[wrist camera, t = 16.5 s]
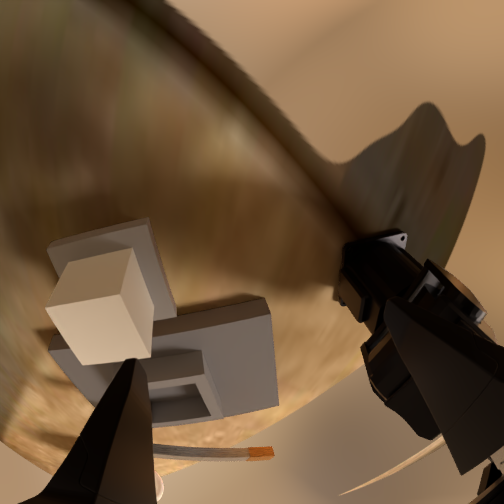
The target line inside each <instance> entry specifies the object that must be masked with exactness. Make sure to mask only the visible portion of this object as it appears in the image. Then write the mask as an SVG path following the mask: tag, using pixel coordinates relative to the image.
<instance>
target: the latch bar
mask: <svg viewBox="0 0 504 504" xmlns="http://www.w3.org/2000/svg"><path fill="white" fill-rule="evenodd" d="M273 457H274V452H273V448H272V446H271V447H250V448H198V447H182V446H170V445H161V444H153V458H163V459H175V460H191V461H257V460H258V461H259V460H270V459H271V458H273Z"/></svg>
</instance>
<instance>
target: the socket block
mask: <svg viewBox="0 0 504 504" xmlns="http://www.w3.org/2000/svg"><path fill="white" fill-rule="evenodd" d="M48 352H49V353H50V355H51V356H52V357H53V359H54V360H55V361H56V363H57V364H58V365H59V366H60V368H61V369H62V370H63V371H64V373H65V374H66V375H67V376H68V378H69V379H70V380H71V381H72V382H73V384H74V385H75V386H76V387H77V388H78V389H79V391H80V392H81V393H82V394H83V395H84V396H85V397H86V398H87V400H88V401H89V402H90V403H91V404H92V405H93V406H94V407H95V408H96V406H97V404H98V403H99V401H100V399H101V398H102V396H103V394H104V393H105V391H106V389H107V388H108V386H109V384H110V383H111V381H112V379H113V378H114V376H115V375H116V373H117V371H118V370H119V368H120V367H121V365H122V363H123V362H124V361H120V362H111V363H102V364H92V365H82V364H81V363H80V361H79V360H78V358H77V357H76V356H75V354H74V353H73V351H72V350H71V348H70V347H69V345H68V344H67V343H66V341H65V340H64V338H63V336H62V335H61V334H60V335H53V337H52V340H51V343H50V346H49V349H48ZM138 360H139V362H140V363H141V365H142V367H143V368H144V370H145V372H146V374H147V380H148V389H149V398H150V406H151V414H152V428H157V427H168V426H177V425H185V424H192V423H199V422H206V421H212V420H218V419H224V417H229V416H234V415H240V414H244V413H249V412H254V411H258V410H262V409H267V408H271V407H275V406H279V399H278V387H277V376H276V364H275V353H274V342H273V331H272V320H271V313H270V310H269V308H268V305H267V302H266V300H265V298H262V299H258V300H253V301H249V302H244V303H240V304H235V305H230V306H225V307H220V308H216V309H211V310H206V311H200V312H195V313H190V314H185V315H180V316H177V317H173V318H168V319H162V320H156V321H153V329H152V346H151V357H150V358H143V359H138Z"/></svg>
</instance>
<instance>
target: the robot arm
mask: <svg viewBox="0 0 504 504" xmlns="http://www.w3.org/2000/svg"><path fill="white" fill-rule="evenodd" d="M401 237H402V238H401ZM406 240H407V235H406V234H405V233H404V232H403V231H400V232H396V233H391V234H387V235H382V236H378V237H373V238H369V239H364V240H359V241H355V242H350V243H347V244H345V245H344V247H343V252H342V267H341V269H340V273H339V286H338V294H339V303H340V305H341V306H347V307H348V308H349V310H350V311H351V313H352V314H353V316H354V317H355V319H356V320H357V321H358V322H359V323H362V322H364V323H365V325H366V326H367V328H368V329H369V331H370V332H371V334H372V335H371V337H370V338H369V339H368V340H367V341H366V342H364V343H363V344H362V346H361V347H360V348H361V352H362V355H363V359H364V363H365V366H366V370H367V374H368V377H369V381H370V384H371V387H372V390H373V392H374V393H375V394H376V395H377V396H378V397H379V398H380V399H381V400H382V401H383V402H384V404H385V405H386V406H387V407H389V408H390V409H392V410H393V411H395V412H396V413H397V414H399V415H400V416H401V417H402V418H403V419H404V420H405V421H406V422H407V423H408V424H409V425H410V426H411V428H412V429H413V430H414V431H415V432H416V434H417V435H418V436H420V437H423V438H425V439H428V440H433V439H434V438H435V437H437V436H438V435H439V434H440V433H442V435H443V438H444V440H445V442H446V444H447V446H448V448H449V450H450V452H451V454H452V457H453V459H454V461H455V463H456V466H457V468H458V470H459V472H460V474H461V475H464V474H465V473H466V472H468V471H470V470H471V469H473V468H474V467H476V466H477V465H479V464H480V463H482V462H483V461H484V460H486V459H487V458H488V459H489V460H490V461H491V463H490V464H489V465H488V466H486V467H485V468H484V470H483V474H482V478H481V482H480V486H479V489H478V493H477V495H478V497H476V498H475V499H474V500H473V501H471V502H470V503H469V504H504V347H503V346H500V345H498V343H497V339H496V336H495V333H494V331H493V329H492V328H491V327H490V326H489V325H488V324H487V323H486V322H485V321H484V320H483V319H484V317H485V316H486V315H487V312H486V310H485V309H484V308H483V306H482V305H481V304H480V302H479V301H478V300H477V298H476V297H475V296H474V294H473V293H472V292H471V291H470V290H469V289H468V288H467V287H466V286H465V285H464V284H463V283H461V282H460V281H459V280H458V279H457V278H456V277H454V275H452V274H451V273H449V272H448V271H446V270H445V269H443V268H442V267H440V266H439V265H437V264H436V263H434V262H433V261H431V260H429V259H427V260H426V262H425V263H424V267H423V266H422V265H421V264H420V263H419V262H417V261H416V260H415V259H414V258H413V257H412V256H411V255H410V254H409V253H407V252H406V251H405V246H406ZM349 248H350V250H349V251H348V249H349ZM18 504H157V497H156V487H155V474H154V459H153V438H152V414H151V406H150V398H149V389H148V380H147V374H146V372H145V370H144V368H143V367H142V365H141V363H140V362H139V360H138V359H137V358H128V359H125V360H124V362H123V363H122V365H121V367H120V368H119V370H118V371H117V373H116V375H115V376H114V378H113V379H112V381H111V383H110V384H109V386H108V388H107V389H106V391H105V393H104V394H103V396H102V398H101V399H100V401H99V403H98V404H97V406H96V408H95V409H94V411H93V413H92V414H91V416H90V418H89V420H88V421H87V423H86V425H85V426H84V428H83V430H82V432H81V433H80V436H79V437H78V439H77V440H76V442H75V444H74V445H73V447H72V449H71V451H70V452H69V454H68V455H67V457H66V458H65V460H64V461H63V463H62V464H61V466H60V467H59V469H58V470H57V472H56V473H55V474H54V476H53V477H52V479H51V480H50V482H49V483H48V485H47V486H46V487H45V489H44V490H43V491H42V492H41V493H39V494H38V495H37V496H35V497H33V498H30V499H28V500H26V501H23V502H21V503H18Z"/></svg>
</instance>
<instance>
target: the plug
mask: <svg viewBox="0 0 504 504" xmlns="http://www.w3.org/2000/svg"><path fill="white" fill-rule="evenodd" d="M46 250H47V253H48V255H49V257H50V259H51V262H52V264H53V266H54V268H55V270H56V272H57V275H58V277H59V281H58V283H57V284H56V286H55V288H54V290H53V292H52V294H51V296H50V298H49V300H48V302H47V304H46V307H45V309H46V311H47V312H48V314H49V316H50V317H51V319H52V321H53V322H54V324H55V326H56V327H57V329H58V330H59V332H60V333H61V335H62V336H63V338H64V340H65V341H66V343H67V344H68V345H69V347H70V348H71V350H72V351H73V353H74V354H75V356H76V357H77V358H78V360H79V361H80V363H81V364H82V365H92V364H102V363H111V362H120V361H124V360H125V359H128V358H137V359H143V358H150V357H151V346H152V329H153V321H156V320H162V319H168V318H173V317H177V307H176V304H175V301H174V298H173V295H172V292H171V289H170V286H169V283H168V280H167V277H166V274H165V271H164V268H163V264H162V261H161V258H160V255H159V251H158V248H157V245H156V241H155V238H154V234H153V231H152V227H151V224H150V220H149V217H146V218H142V219H138V220H133V221H129V222H125V223H121V224H117V225H112V226H108V227H104V228H100V229H96V230H92V231H89V232H85V233H81V234H77V235H73V236H70V237H66V238H62V239H59V240H55V241H52V242H51V243H50V244H49V246H48V247H47V249H46Z"/></svg>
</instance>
